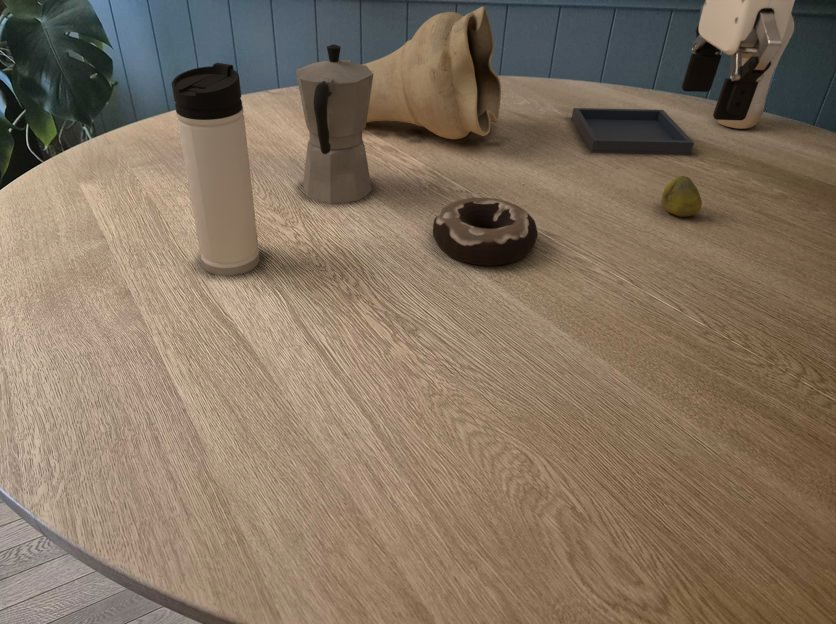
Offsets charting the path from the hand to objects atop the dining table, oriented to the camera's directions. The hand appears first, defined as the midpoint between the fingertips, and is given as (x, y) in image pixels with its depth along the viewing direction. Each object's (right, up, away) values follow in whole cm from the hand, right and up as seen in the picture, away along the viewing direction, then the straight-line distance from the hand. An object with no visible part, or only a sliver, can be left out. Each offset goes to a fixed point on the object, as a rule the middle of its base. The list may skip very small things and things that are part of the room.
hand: (710, 104), depth 73 cm
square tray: (+3, +6, +31) cm, 31 cm away
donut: (-25, -15, +3) cm, 29 cm away
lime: (+1, -11, +9) cm, 14 cm away
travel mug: (-53, -18, 0) cm, 56 cm away
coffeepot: (-42, -7, +14) cm, 45 cm away
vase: (-31, +8, +32) cm, 46 cm away
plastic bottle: (+22, +9, +35) cm, 42 cm away
